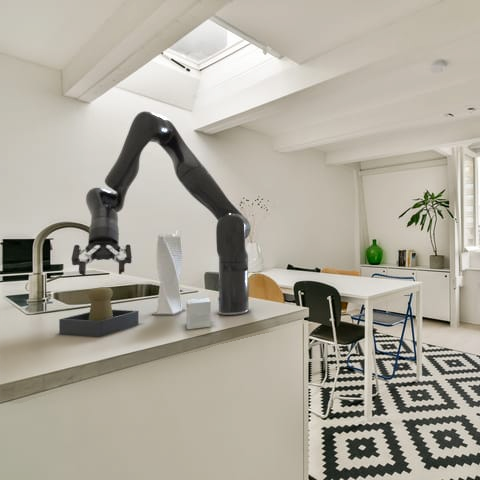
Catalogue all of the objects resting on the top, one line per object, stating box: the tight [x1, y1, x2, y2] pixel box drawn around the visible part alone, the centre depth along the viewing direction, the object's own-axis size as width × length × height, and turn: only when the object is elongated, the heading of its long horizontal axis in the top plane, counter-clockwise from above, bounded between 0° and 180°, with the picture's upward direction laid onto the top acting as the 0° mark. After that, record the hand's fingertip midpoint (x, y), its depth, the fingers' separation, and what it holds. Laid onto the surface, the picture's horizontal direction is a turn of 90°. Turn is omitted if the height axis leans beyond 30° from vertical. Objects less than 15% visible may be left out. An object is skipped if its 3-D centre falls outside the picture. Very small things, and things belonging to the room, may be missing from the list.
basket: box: [58, 309, 140, 338], centre depth 92 cm, size 12×12×4 cm
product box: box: [185, 297, 212, 330], centre depth 96 cm, size 6×6×7 cm
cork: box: [88, 286, 114, 321], centre depth 92 cm, size 6×6×11 cm
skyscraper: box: [151, 228, 186, 316], centre depth 110 cm, size 8×8×28 cm
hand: (102, 273), depth 97 cm, fingers open, 8 cm apart
